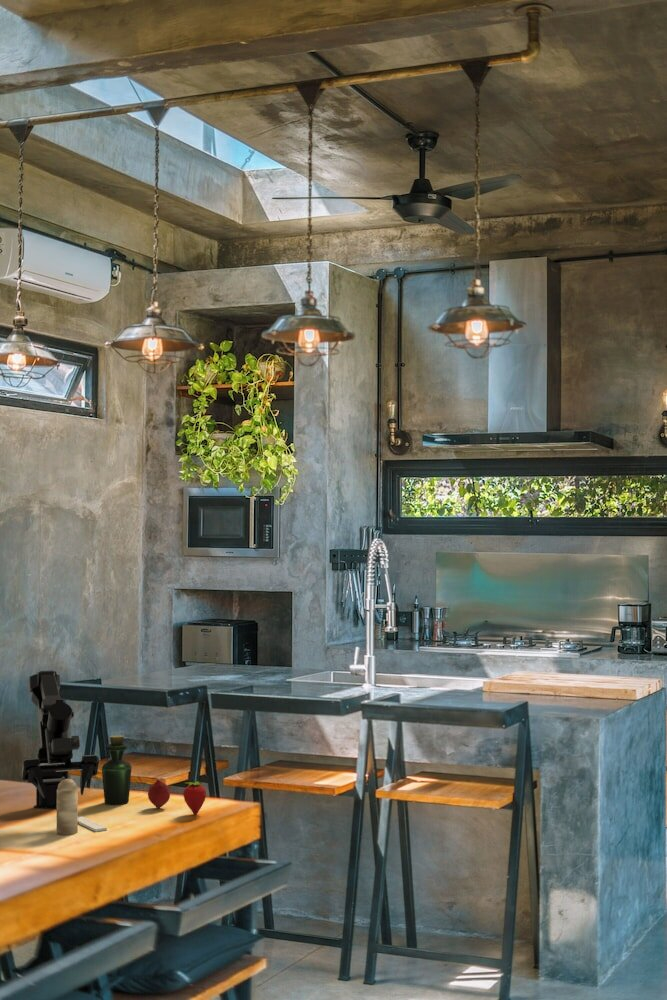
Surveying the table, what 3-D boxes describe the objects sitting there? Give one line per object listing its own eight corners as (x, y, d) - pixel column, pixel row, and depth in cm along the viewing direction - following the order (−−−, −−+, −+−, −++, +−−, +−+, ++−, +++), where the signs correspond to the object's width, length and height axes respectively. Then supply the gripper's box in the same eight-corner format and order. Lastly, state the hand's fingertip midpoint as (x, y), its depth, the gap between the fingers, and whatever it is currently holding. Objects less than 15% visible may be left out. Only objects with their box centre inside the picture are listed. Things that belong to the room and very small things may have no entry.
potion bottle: (105, 799, 336) (105, 734, 337) (134, 799, 335) (134, 734, 336) (98, 805, 328) (98, 738, 329) (128, 805, 327) (128, 738, 328)
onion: (172, 806, 326) (172, 776, 327) (167, 810, 321) (167, 780, 321) (151, 805, 327) (151, 775, 327) (145, 810, 321) (145, 779, 322)
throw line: (71, 820, 309) (71, 817, 309) (82, 818, 311) (82, 816, 311) (95, 831, 296) (95, 829, 296) (107, 830, 298) (107, 827, 298)
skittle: (52, 833, 295) (52, 779, 295) (68, 829, 299) (68, 776, 299) (66, 836, 292) (66, 781, 292) (81, 832, 296) (82, 778, 296)
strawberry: (180, 817, 312) (180, 778, 312) (186, 811, 319) (186, 773, 320) (203, 817, 312) (203, 778, 312) (208, 811, 319) (208, 773, 320)
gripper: (23, 727, 304) (27, 779, 293) (98, 723, 310) (105, 774, 299) (19, 753, 311) (23, 805, 300) (93, 749, 317) (99, 800, 307)
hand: (63, 795), depth 301 cm, fingers open, 9 cm apart
